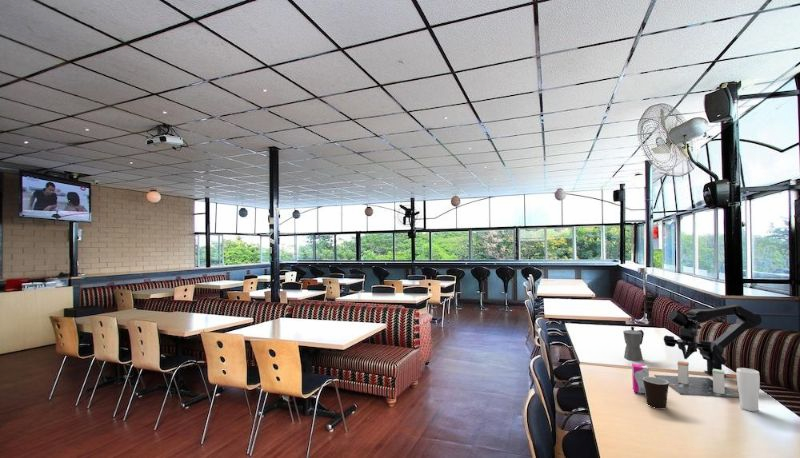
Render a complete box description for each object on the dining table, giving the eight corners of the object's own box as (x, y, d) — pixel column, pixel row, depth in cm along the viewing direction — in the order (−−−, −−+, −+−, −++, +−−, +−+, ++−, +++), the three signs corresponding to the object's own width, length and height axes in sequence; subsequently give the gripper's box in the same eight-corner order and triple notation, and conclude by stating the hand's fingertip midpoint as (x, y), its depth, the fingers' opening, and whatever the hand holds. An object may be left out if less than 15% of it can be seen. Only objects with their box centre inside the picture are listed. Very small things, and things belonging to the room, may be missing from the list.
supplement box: (647, 390, 171) (646, 364, 171) (649, 395, 165) (649, 368, 166) (632, 388, 173) (631, 362, 174) (634, 393, 168) (633, 366, 168)
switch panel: (654, 375, 190) (654, 374, 190) (708, 378, 186) (708, 377, 186) (680, 394, 166) (680, 393, 166) (743, 398, 162) (743, 397, 162)
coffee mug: (661, 412, 149) (660, 385, 149) (639, 403, 157) (638, 378, 157) (678, 406, 154) (677, 380, 155) (655, 398, 162) (655, 374, 162)
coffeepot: (633, 362, 212) (632, 329, 213) (617, 358, 220) (616, 326, 221) (652, 359, 218) (651, 327, 219) (636, 355, 226) (635, 324, 227)
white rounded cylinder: (765, 413, 147) (763, 373, 148) (745, 412, 149) (743, 372, 149) (753, 406, 154) (751, 368, 155) (733, 405, 155) (732, 367, 156)
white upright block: (714, 390, 169) (713, 368, 170) (725, 392, 167) (724, 370, 167) (713, 392, 167) (712, 370, 168) (724, 394, 164) (723, 372, 165)
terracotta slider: (679, 380, 181) (678, 360, 181) (689, 382, 178) (688, 362, 179) (678, 382, 179) (677, 362, 179) (687, 384, 176) (687, 364, 177)
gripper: (663, 319, 196) (658, 345, 188) (710, 324, 182) (707, 352, 174) (668, 332, 201) (663, 358, 193) (714, 338, 187) (711, 366, 179)
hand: (685, 358), depth 185 cm, fingers closed
